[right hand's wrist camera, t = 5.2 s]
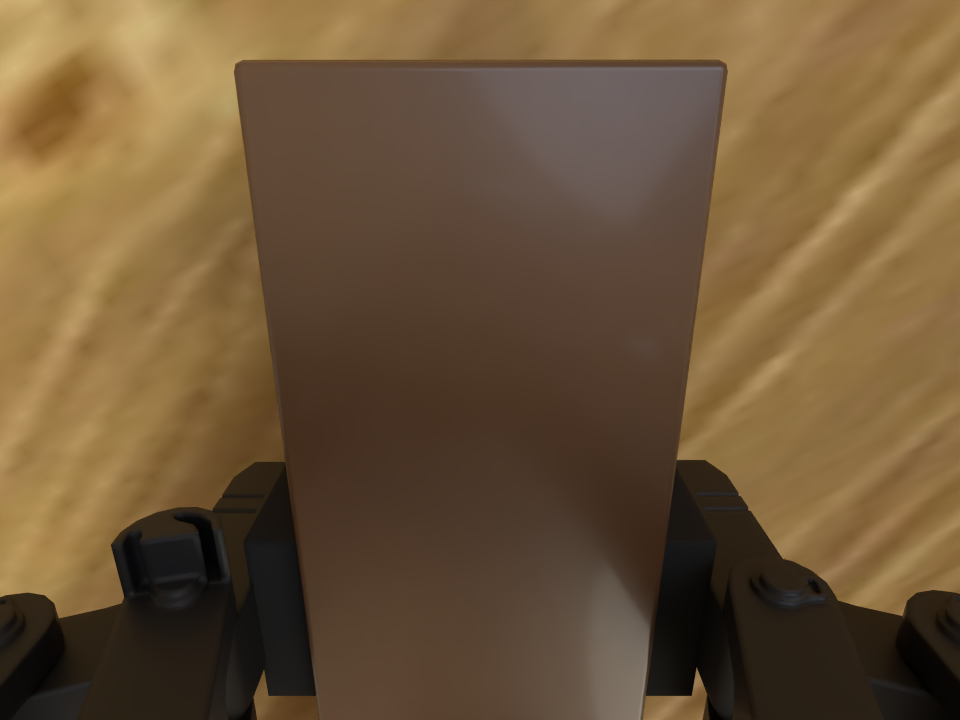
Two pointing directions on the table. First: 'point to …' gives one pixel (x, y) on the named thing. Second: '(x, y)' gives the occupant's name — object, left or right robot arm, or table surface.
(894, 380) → the table surface
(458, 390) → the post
